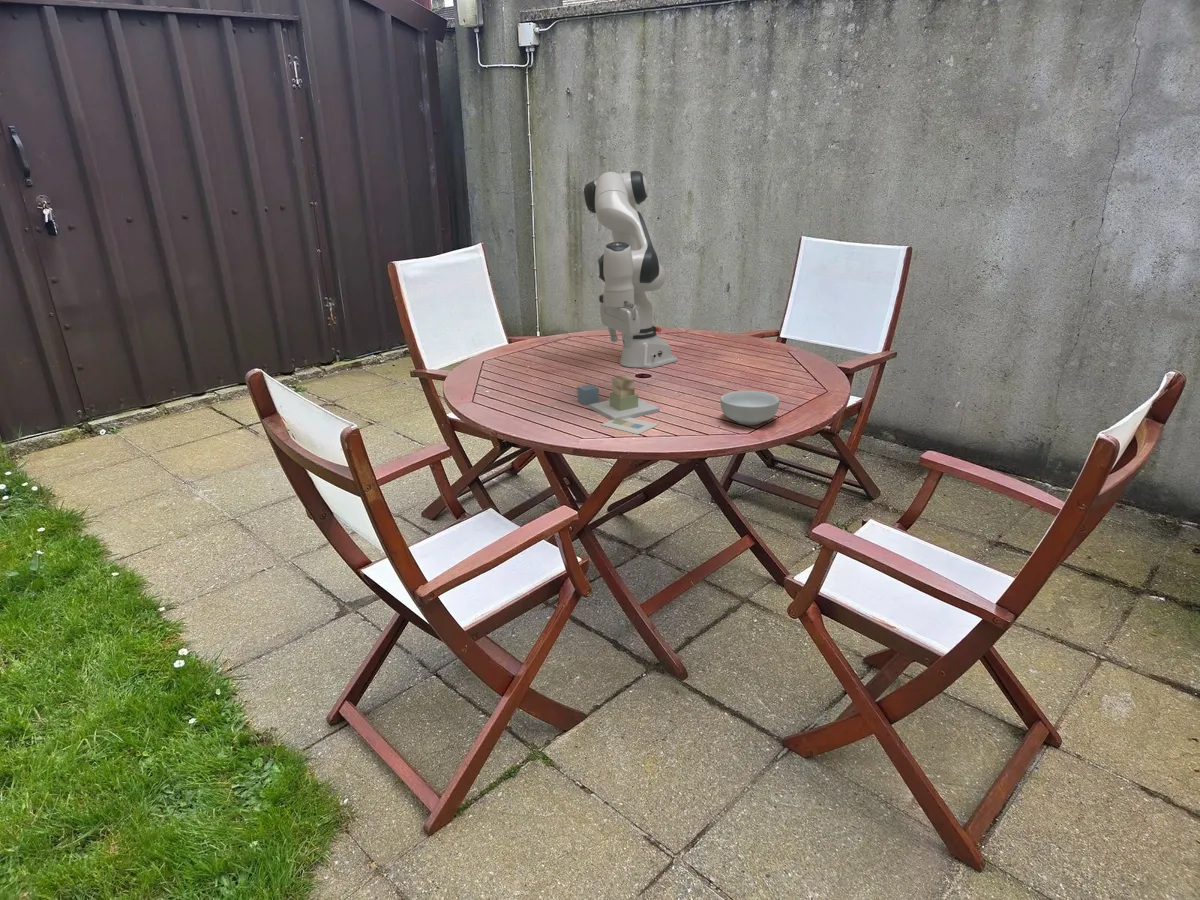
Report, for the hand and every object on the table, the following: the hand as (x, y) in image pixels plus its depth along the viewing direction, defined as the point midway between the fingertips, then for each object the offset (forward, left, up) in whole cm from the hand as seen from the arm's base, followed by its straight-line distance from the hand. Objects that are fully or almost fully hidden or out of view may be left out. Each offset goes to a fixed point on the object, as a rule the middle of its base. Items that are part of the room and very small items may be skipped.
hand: (620, 344), depth 227 cm
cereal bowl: (-25, +31, -21) cm, 45 cm away
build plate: (0, +1, -21) cm, 21 cm away
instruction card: (+6, +14, -21) cm, 26 cm away
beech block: (0, +1, -16) cm, 16 cm away
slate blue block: (+5, -13, -21) cm, 25 cm away
